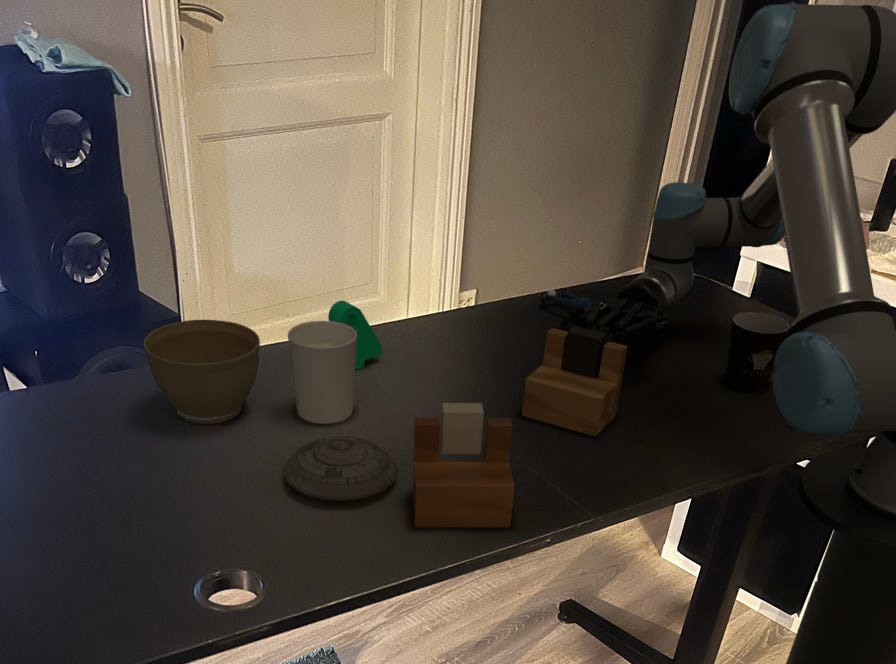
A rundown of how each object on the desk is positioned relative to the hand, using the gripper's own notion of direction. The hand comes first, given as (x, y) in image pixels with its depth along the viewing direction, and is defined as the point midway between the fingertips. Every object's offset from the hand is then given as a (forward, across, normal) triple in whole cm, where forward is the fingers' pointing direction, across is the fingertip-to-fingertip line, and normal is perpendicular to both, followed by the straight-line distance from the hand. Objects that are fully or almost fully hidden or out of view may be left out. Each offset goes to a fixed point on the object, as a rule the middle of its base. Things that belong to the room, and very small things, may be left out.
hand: (588, 349), depth 144 cm
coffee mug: (-23, -21, -9) cm, 32 cm away
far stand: (+5, 0, -9) cm, 10 cm away
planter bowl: (+33, +45, -9) cm, 57 cm away
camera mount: (+8, +40, -9) cm, 41 cm away
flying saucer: (+39, +18, -9) cm, 44 cm away
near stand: (+37, +1, -9) cm, 38 cm away
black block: (+2, 0, -3) cm, 3 cm away
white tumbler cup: (+24, +31, -9) cm, 40 cm away
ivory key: (+33, +3, -3) cm, 33 cm away
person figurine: (-32, +14, -9) cm, 36 cm away
